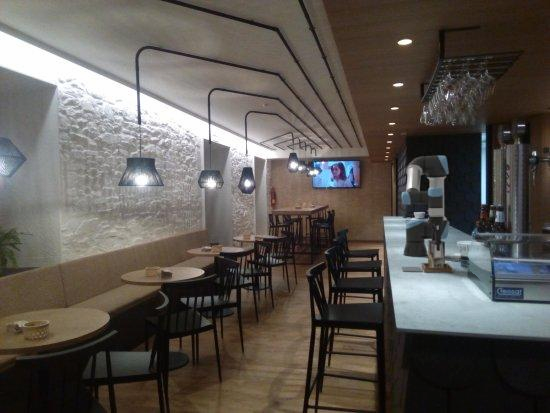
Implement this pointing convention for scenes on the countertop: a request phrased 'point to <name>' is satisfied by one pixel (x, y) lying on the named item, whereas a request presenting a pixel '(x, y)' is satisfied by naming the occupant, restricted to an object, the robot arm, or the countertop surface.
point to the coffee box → (432, 260)
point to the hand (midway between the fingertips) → (436, 254)
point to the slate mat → (411, 269)
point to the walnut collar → (436, 269)
